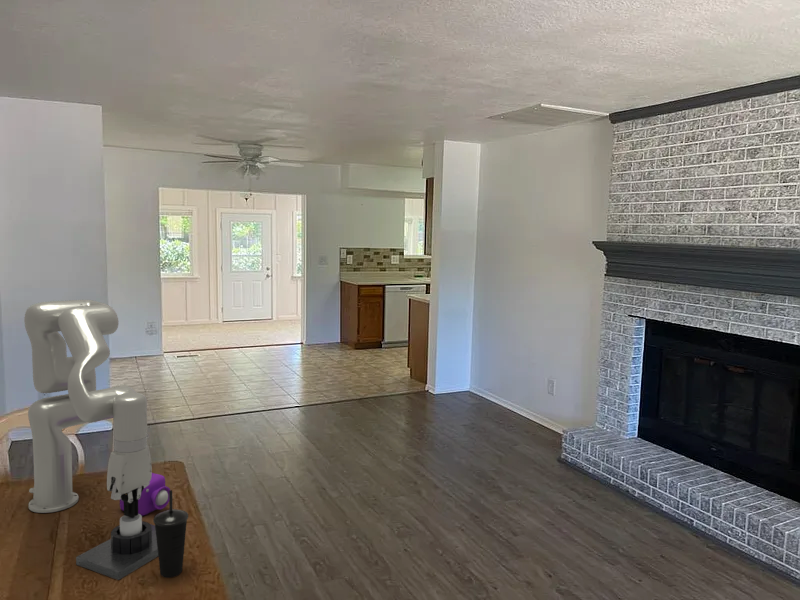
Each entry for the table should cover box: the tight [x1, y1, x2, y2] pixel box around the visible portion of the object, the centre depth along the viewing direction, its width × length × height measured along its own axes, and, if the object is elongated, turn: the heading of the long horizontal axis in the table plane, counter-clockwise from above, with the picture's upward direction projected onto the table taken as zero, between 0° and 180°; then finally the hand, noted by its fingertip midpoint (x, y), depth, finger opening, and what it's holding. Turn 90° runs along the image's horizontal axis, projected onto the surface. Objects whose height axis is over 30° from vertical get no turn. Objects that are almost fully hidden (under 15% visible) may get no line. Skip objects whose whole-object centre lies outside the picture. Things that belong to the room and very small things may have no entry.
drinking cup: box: [152, 489, 189, 579], centre depth 140 cm, size 8×8×20 cm
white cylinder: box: [119, 514, 143, 536], centre depth 149 cm, size 5×5×7 cm
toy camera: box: [119, 472, 171, 517], centre depth 172 cm, size 11×14×10 cm
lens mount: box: [75, 520, 159, 581], centre depth 149 cm, size 14×20×6 cm
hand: (131, 515), depth 148 cm, fingers closed
